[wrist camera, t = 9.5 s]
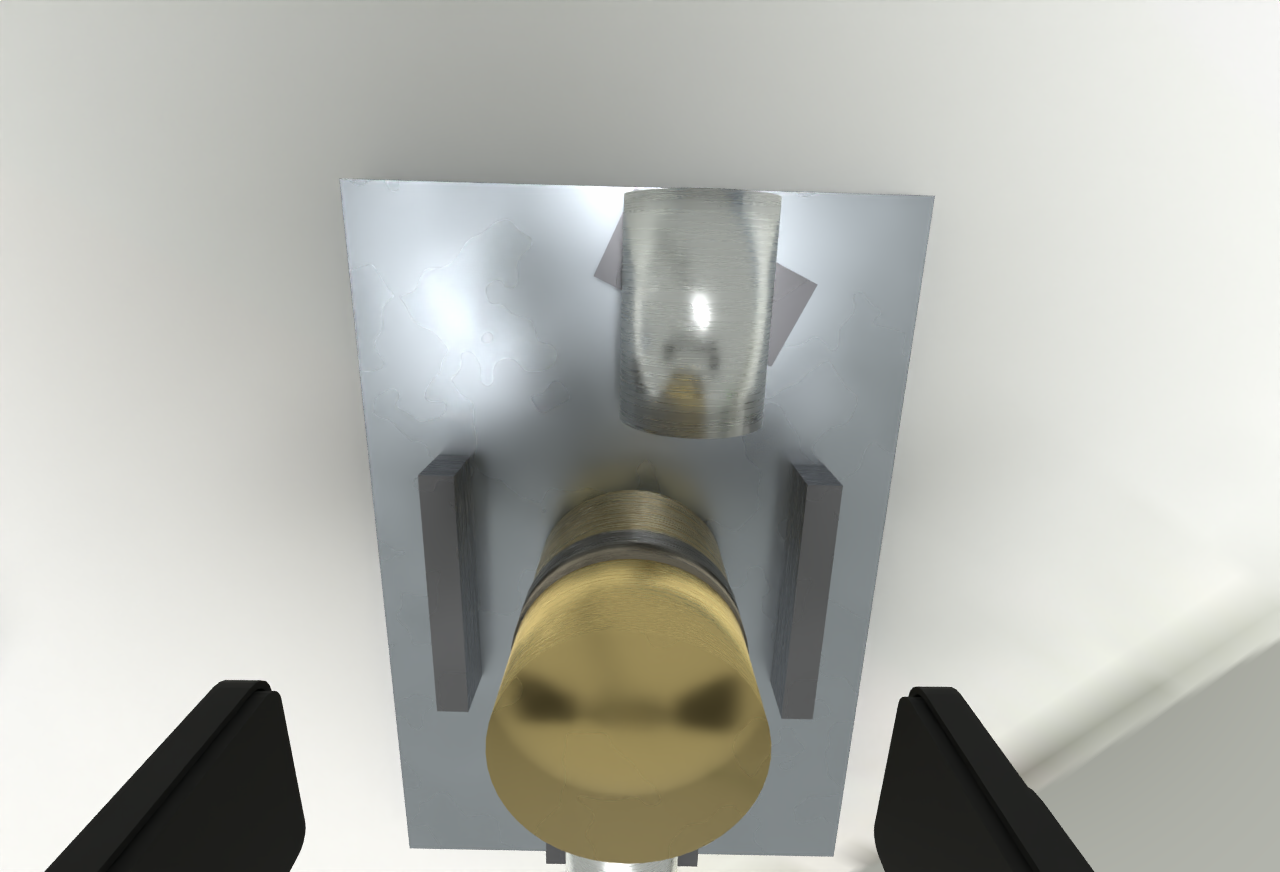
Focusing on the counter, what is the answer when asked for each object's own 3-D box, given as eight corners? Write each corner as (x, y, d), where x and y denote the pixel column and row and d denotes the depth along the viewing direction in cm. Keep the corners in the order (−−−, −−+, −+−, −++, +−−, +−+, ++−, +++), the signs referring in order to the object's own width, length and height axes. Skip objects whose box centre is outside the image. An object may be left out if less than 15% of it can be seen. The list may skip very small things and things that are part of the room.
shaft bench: (359, 183, 14) (245, 154, 10) (914, 199, 14) (1026, 177, 10) (421, 819, 20) (362, 969, 16) (823, 827, 20) (872, 978, 16)
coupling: (536, 485, 15) (475, 625, 10) (731, 490, 15) (788, 632, 10) (539, 652, 17) (488, 863, 11) (717, 656, 17) (761, 868, 11)
